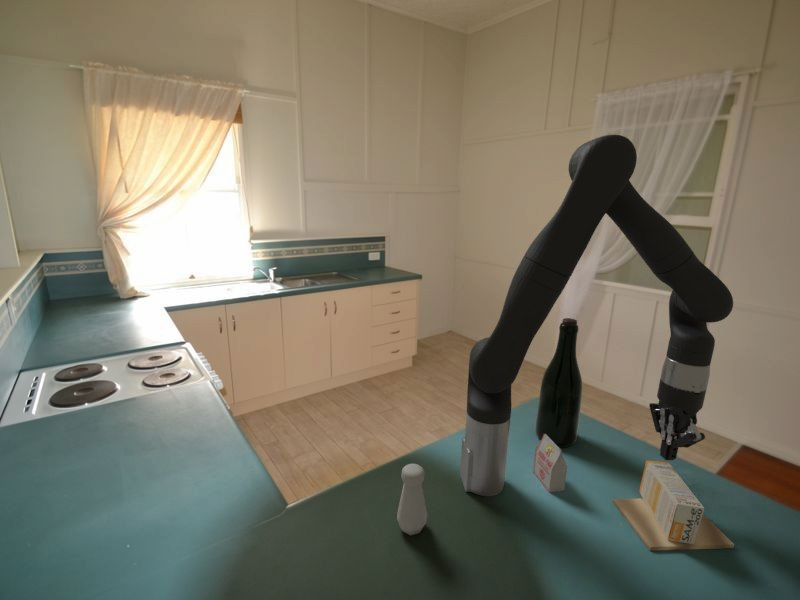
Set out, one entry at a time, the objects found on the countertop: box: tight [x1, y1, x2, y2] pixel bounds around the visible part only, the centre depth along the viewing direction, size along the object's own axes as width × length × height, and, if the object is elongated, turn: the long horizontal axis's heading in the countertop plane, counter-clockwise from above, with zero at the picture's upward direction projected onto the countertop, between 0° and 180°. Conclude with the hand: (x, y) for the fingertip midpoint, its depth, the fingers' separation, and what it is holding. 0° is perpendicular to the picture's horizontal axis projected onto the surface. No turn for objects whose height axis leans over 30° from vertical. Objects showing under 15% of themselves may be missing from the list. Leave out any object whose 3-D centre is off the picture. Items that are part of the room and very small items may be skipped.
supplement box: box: [638, 459, 705, 544], centre depth 79 cm, size 8×5×13 cm
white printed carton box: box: [532, 434, 568, 493], centre depth 90 cm, size 4×7×10 cm, turn 11°
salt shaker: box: [396, 463, 428, 536], centre depth 76 cm, size 6×6×13 cm
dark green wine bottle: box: [534, 317, 583, 448], centre depth 104 cm, size 10×10×33 cm
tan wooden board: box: [612, 497, 735, 552], centre depth 79 cm, size 16×12×1 cm
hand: (667, 458), depth 83 cm, fingers closed
